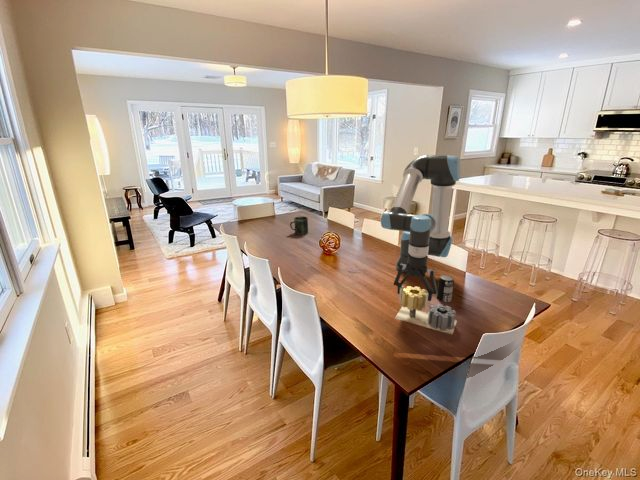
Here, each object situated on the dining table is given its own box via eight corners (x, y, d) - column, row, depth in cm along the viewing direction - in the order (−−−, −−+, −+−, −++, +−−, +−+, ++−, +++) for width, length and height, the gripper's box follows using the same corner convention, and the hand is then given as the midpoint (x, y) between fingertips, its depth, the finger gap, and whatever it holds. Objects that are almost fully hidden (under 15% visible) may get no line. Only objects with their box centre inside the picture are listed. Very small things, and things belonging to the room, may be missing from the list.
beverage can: (439, 295, 154) (442, 273, 150) (453, 299, 150) (456, 276, 146) (434, 301, 149) (437, 277, 145) (448, 305, 145) (451, 281, 141)
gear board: (402, 308, 143) (402, 298, 141) (456, 322, 132) (458, 311, 130) (394, 320, 134) (395, 310, 132) (452, 337, 123) (453, 325, 121)
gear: (425, 315, 135) (427, 301, 133) (450, 317, 134) (452, 302, 131) (430, 329, 126) (431, 314, 123) (456, 331, 124) (458, 316, 122)
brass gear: (405, 296, 140) (406, 284, 138) (428, 302, 135) (429, 289, 133) (398, 306, 132) (399, 293, 130) (422, 313, 127) (423, 299, 125)
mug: (310, 233, 248) (310, 218, 244) (292, 236, 243) (292, 221, 239) (305, 230, 257) (305, 215, 253) (288, 232, 252) (287, 217, 248)
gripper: (387, 252, 128) (384, 301, 136) (446, 263, 118) (439, 315, 125) (393, 247, 135) (390, 293, 142) (449, 256, 124) (443, 306, 131)
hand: (413, 303), depth 133 cm, fingers closed on brass gear, 10 cm apart
